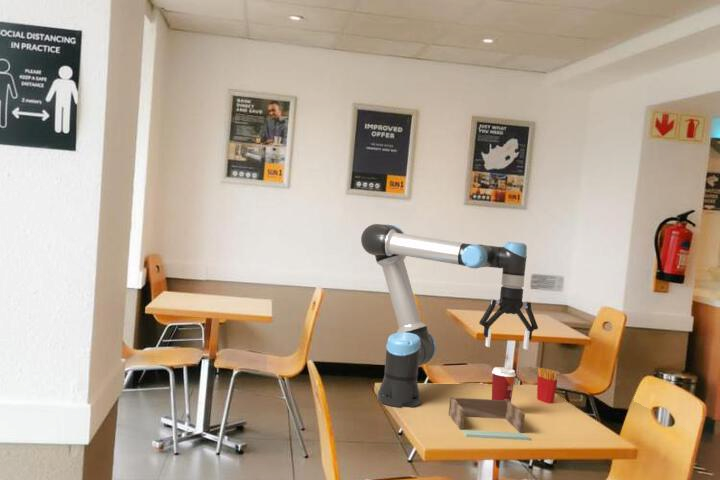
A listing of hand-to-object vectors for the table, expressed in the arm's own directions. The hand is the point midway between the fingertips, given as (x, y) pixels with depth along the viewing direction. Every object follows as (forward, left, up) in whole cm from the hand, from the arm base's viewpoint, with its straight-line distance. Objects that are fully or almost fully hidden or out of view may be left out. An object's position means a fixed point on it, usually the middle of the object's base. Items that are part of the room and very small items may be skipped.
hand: (506, 347), depth 212 cm
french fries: (-18, +24, -23) cm, 38 cm away
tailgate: (+24, -11, -22) cm, 34 cm away
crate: (+17, -11, -23) cm, 30 cm away
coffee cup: (0, 0, -23) cm, 23 cm away
